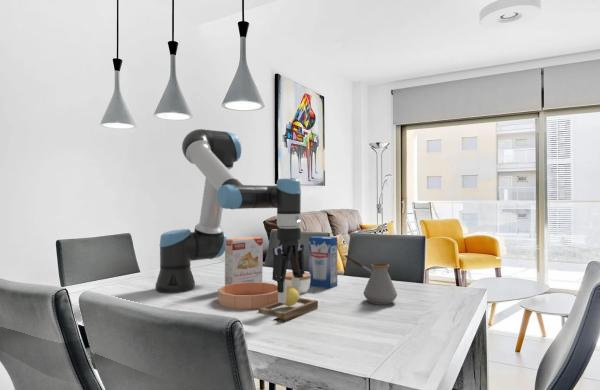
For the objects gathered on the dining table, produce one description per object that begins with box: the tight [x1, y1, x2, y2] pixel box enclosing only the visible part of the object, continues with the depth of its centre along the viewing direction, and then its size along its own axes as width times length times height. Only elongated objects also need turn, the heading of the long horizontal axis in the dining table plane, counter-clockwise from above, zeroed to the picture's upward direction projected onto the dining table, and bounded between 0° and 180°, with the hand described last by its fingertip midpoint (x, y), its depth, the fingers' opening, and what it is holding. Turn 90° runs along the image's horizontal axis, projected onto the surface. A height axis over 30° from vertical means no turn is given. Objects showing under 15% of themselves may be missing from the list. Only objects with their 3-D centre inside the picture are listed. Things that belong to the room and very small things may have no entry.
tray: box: [257, 297, 319, 323], centre depth 128 cm, size 10×18×2 cm, turn 145°
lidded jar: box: [285, 271, 311, 294], centre depth 151 cm, size 11×11×9 cm
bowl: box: [217, 281, 278, 310], centre depth 138 cm, size 21×21×6 cm
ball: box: [283, 287, 299, 307], centre depth 128 cm, size 6×6×6 cm
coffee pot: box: [342, 254, 398, 306], centre depth 144 cm, size 21×12×15 cm, turn 47°
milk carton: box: [308, 235, 338, 290], centre depth 167 cm, size 10×6×20 cm, turn 58°
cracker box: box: [224, 236, 264, 286], centre depth 156 cm, size 14×6×21 cm, turn 131°
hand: (289, 299), depth 128 cm, fingers open, 6 cm apart
